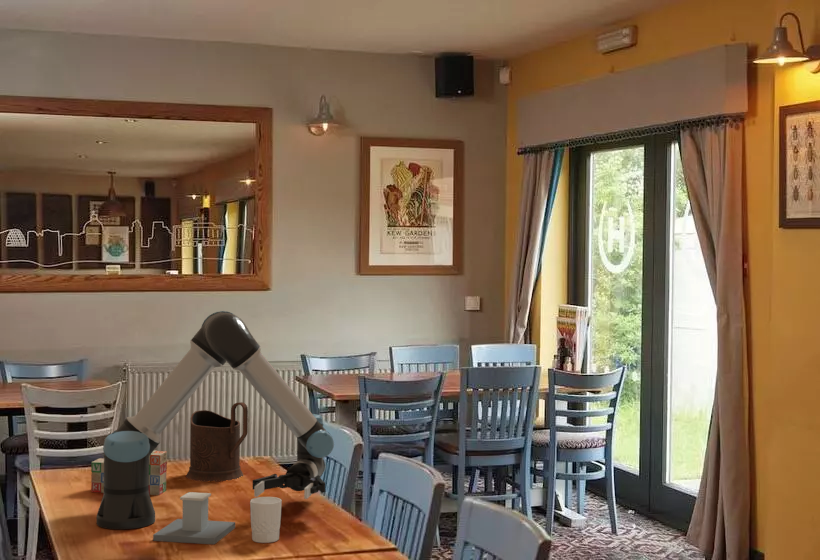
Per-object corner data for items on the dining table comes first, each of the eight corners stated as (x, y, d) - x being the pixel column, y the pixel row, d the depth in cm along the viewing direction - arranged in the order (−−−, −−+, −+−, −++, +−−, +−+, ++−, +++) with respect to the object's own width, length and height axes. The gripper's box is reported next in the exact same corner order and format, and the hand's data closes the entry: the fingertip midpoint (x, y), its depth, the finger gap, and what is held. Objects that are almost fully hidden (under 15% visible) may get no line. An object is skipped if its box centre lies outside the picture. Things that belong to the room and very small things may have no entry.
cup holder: (218, 467, 348) (219, 393, 347) (267, 477, 333) (267, 400, 332) (173, 475, 334) (174, 398, 333) (222, 487, 318) (223, 406, 318)
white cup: (265, 545, 255) (265, 505, 255) (243, 540, 260) (243, 500, 259) (287, 539, 261) (288, 499, 261) (265, 533, 266) (266, 495, 266)
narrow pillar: (153, 540, 258) (153, 500, 258) (177, 524, 274) (177, 486, 273) (214, 544, 255) (214, 504, 255) (235, 527, 271) (235, 489, 271)
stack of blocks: (90, 492, 308) (90, 452, 308) (98, 488, 315) (99, 448, 314) (159, 495, 306) (160, 454, 306) (166, 490, 313) (167, 450, 312)
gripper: (344, 490, 290) (326, 508, 269) (259, 486, 294) (235, 504, 273) (344, 463, 290) (326, 480, 269) (258, 460, 294) (235, 476, 273)
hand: (280, 492), depth 271 cm, fingers open, 13 cm apart
